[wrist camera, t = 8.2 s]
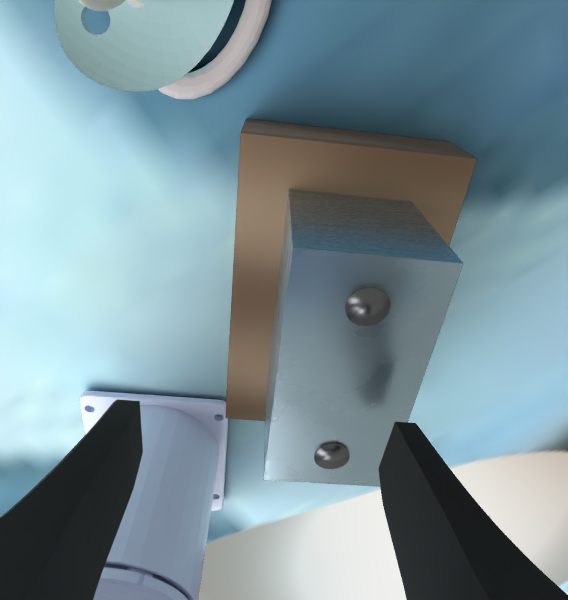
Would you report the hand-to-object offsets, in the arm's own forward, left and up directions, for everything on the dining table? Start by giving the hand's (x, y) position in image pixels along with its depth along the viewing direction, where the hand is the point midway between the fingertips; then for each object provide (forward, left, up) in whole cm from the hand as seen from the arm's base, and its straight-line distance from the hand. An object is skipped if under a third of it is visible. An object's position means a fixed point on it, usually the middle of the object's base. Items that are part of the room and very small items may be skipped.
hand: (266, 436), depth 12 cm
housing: (+1, -2, -6) cm, 7 cm away
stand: (0, -2, -9) cm, 10 cm away
